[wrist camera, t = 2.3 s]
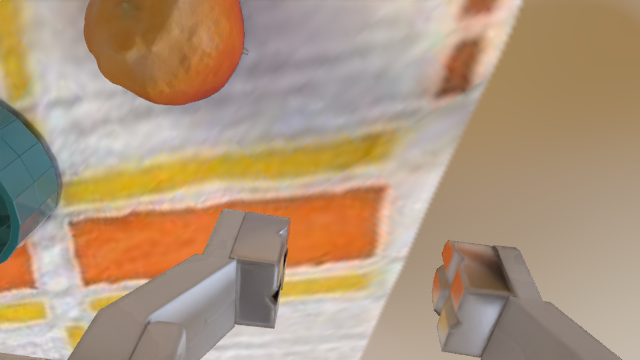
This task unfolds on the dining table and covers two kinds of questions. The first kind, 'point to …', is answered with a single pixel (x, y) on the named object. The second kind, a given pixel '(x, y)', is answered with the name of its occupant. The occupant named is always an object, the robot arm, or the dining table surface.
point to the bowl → (22, 184)
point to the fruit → (166, 46)
